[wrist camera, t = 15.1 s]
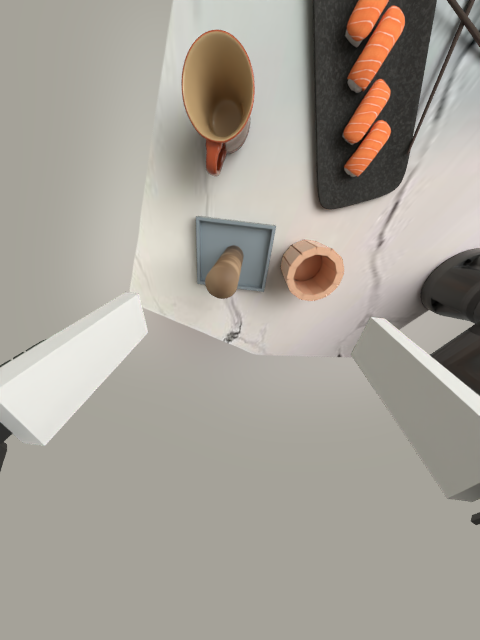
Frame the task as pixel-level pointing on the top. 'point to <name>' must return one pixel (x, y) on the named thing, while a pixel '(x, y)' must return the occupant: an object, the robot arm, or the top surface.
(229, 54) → the mug
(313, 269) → the cup
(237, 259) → the peg
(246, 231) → the tray
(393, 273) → the top surface
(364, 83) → the sushi plate
